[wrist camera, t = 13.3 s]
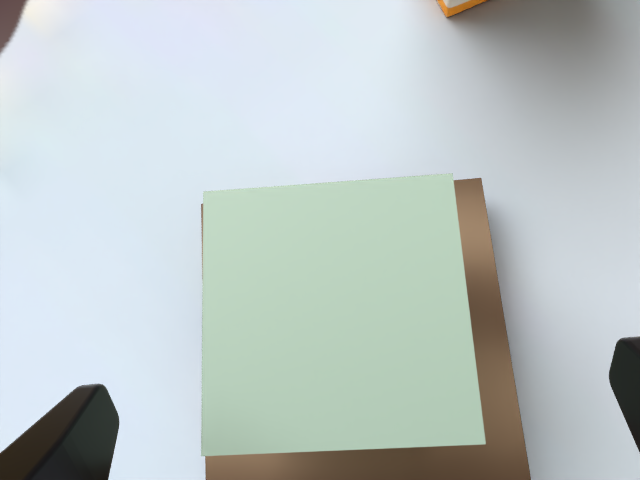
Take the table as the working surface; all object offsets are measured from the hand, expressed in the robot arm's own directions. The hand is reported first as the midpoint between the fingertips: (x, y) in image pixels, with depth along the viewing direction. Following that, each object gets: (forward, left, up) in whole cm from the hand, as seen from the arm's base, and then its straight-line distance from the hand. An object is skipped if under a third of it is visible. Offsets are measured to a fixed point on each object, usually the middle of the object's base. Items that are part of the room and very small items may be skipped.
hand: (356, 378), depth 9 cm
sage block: (+2, 0, -11) cm, 11 cm away
